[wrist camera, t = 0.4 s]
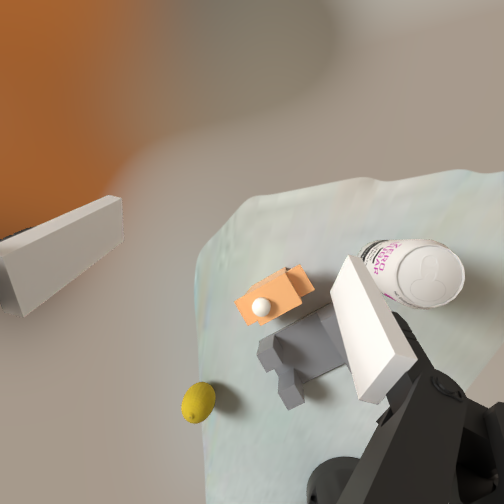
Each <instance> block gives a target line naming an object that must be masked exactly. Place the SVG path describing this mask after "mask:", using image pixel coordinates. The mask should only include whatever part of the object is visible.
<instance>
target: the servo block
mask: <svg viewBox="0 0 504 504" xmlns="http://www.w3.org/2000/svg"><path fill="white" fill-rule="evenodd" d="M313 290H315V289H314V287H313V286H312V284H311V282H310V280H309V279H308V277H307V275H306V274H305V272H304V270H303V269H302V267H301V265H300V264H299V265H297V266H295V267H294V268H292V269H290V270H288V271H287V269H286V268H285V267H284V268H282V269H281V270H279V271H277V272H275V273H274V274H272V275H270V276H268V277H267V278H265V279H263V280H261V281H260V282H258V283H256V284H254V285H253V286H251V288H250V289H249V290H248V291H247V293H246V294H245V295H244V296H242V297H241V298H239V299H237V300H235V301H234V303H235V304H236V306H237V308H238V310H239V311H240V313H241V315H242V317H243V318H244V320H245V322H246V324H247V325H248V326H249V325H251V324H253V323H254V322H256V321H258V322H259V324H260V326H261V325H263V324H265V323H267V322H269V321H271V320H273V319H274V318H276V317H278V316H280V315H282V314H284V313H286V312H287V311H289V310H291V309H293V308H295V307H297V306H299V305H300V304H302V299H301V297H302V296H304V295H306V294H308V293H310V292H311V291H313Z"/></svg>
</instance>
